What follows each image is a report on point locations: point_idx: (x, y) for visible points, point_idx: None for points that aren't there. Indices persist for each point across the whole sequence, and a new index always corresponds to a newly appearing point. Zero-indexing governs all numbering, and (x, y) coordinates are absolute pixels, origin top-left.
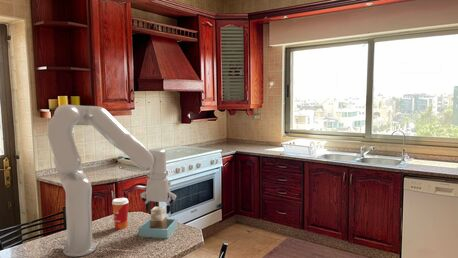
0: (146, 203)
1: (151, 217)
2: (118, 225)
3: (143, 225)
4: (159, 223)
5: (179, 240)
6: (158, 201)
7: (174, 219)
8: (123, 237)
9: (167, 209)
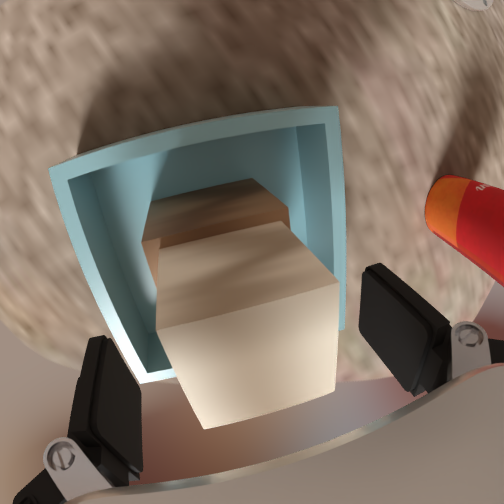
0: (455, 336)
1: (287, 234)
2: (465, 180)
3: (328, 175)
4: (174, 226)
5: (8, 189)
6: (235, 471)
7: (153, 373)
8: (387, 86)
9: (80, 380)
